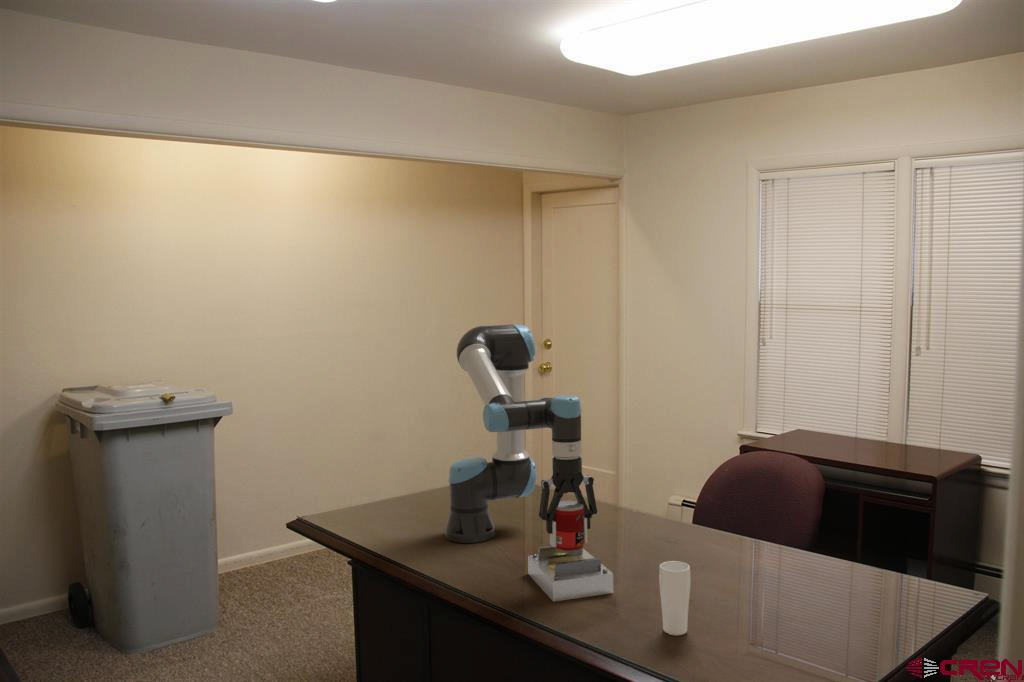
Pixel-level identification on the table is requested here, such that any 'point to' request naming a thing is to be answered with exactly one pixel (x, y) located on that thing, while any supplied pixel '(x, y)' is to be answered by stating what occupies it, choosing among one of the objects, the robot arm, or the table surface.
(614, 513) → the table surface
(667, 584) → the drinking glass
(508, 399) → the robot arm
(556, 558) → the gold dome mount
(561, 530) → the canned food
